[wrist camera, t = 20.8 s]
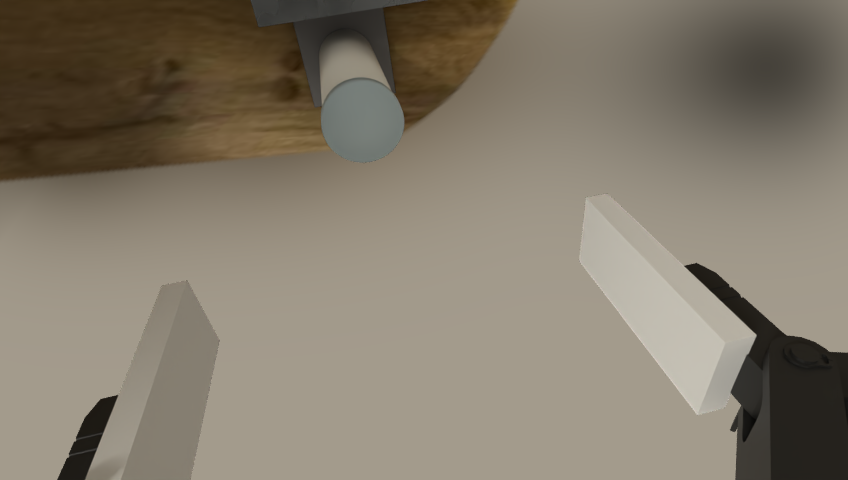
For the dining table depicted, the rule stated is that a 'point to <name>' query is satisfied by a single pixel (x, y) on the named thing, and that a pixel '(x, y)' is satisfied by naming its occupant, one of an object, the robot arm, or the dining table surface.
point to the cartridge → (357, 99)
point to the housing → (312, 9)
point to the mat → (319, 28)
